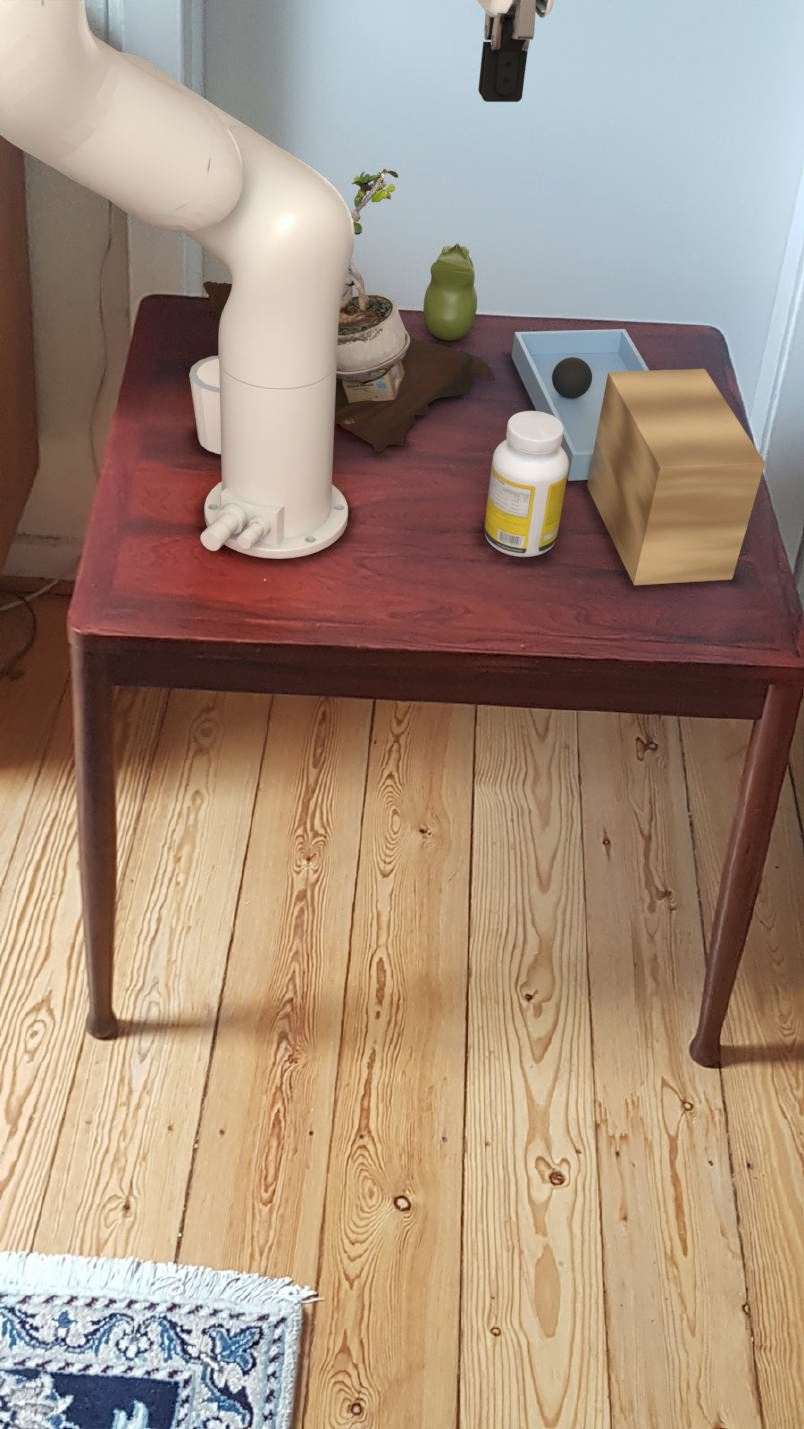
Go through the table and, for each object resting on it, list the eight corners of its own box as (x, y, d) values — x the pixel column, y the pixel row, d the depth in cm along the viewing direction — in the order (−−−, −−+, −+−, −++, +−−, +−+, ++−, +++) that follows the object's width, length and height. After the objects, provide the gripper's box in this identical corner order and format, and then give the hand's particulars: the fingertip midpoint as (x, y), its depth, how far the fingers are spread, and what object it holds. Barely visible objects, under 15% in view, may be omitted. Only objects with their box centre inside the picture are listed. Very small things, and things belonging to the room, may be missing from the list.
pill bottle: (556, 521, 129) (575, 409, 121) (555, 564, 124) (575, 450, 116) (484, 513, 129) (499, 400, 121) (480, 556, 125) (495, 441, 117)
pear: (475, 329, 154) (486, 240, 147) (469, 352, 150) (479, 263, 144) (424, 321, 155) (432, 233, 148) (417, 345, 151) (424, 255, 144)
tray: (689, 475, 136) (696, 449, 134) (568, 481, 134) (572, 454, 132) (620, 353, 152) (625, 328, 150) (511, 357, 150) (514, 331, 148)
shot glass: (231, 467, 132) (229, 400, 127) (176, 439, 135) (173, 373, 130) (279, 437, 136) (280, 372, 131) (226, 411, 139) (224, 345, 134)
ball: (570, 342, 142) (587, 362, 145) (538, 368, 143) (556, 388, 147) (588, 366, 140) (605, 387, 143) (556, 393, 141) (573, 412, 144)
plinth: (732, 579, 125) (765, 462, 116) (633, 585, 123) (660, 467, 115) (678, 482, 135) (705, 368, 127) (586, 486, 134) (607, 371, 125)
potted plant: (392, 484, 136) (318, 238, 119) (248, 453, 146) (162, 224, 130) (504, 372, 146) (450, 131, 129) (361, 351, 156) (295, 126, 140)
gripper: (455, -194, 106) (435, 64, 118) (501, -142, 95) (473, 135, 108) (553, -190, 107) (522, 64, 120) (609, -139, 97) (569, 135, 109)
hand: (499, 97), depth 114 cm, fingers closed
